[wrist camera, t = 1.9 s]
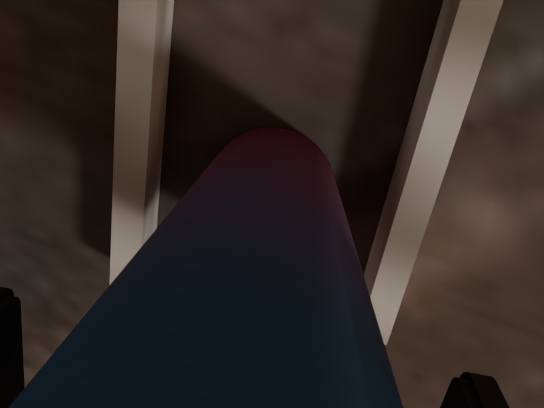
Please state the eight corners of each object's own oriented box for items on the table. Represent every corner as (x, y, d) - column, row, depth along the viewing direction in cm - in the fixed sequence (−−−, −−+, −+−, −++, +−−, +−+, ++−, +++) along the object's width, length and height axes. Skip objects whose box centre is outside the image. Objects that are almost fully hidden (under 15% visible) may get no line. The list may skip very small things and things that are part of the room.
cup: (341, 84, 17) (447, 428, 4) (370, 246, 20) (497, 801, 6) (165, 124, 19) (-246, 501, 5) (214, 273, 21) (35, 793, 7)
